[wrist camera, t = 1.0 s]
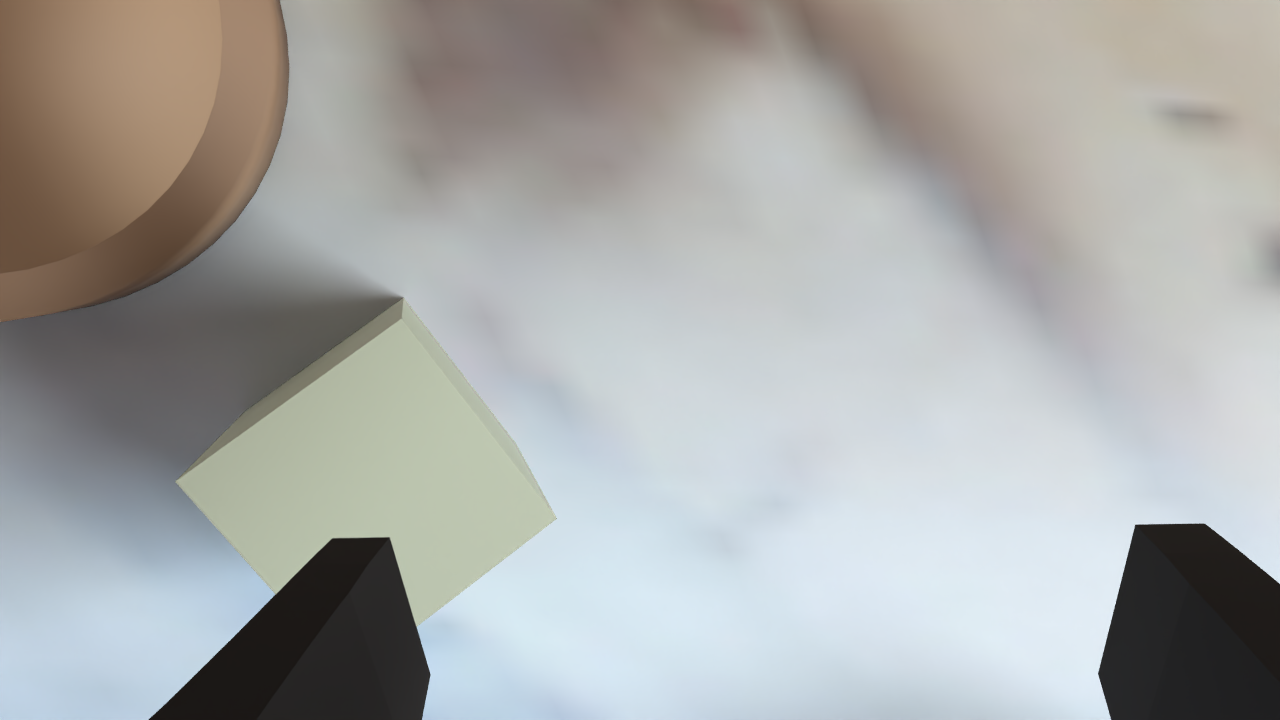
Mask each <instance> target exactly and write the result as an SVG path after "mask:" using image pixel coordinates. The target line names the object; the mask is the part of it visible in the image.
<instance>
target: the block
mask: <svg viewBox="0 0 1280 720" xmlns="http://www.w3.org/2000/svg"><path fill="white" fill-rule="evenodd" d="M175 482H176V483H177V484H178V485H179V486H180V488H181V489H182V490H183V491H184V492H185V493H186V494H187V495H188V497H189V498H190V499H191V500H192V501H193V502H194V503H195V504H196V506H197V507H198V508H199V509H200V510H201V511H202V512H203V513H204V515H205V516H206V517H207V518H208V519H209V520H210V521H211V522H212V524H213V525H214V526H215V527H216V528H217V529H218V530H219V531H220V533H221V534H222V535H223V536H224V537H225V538H226V539H227V540H228V542H229V543H230V544H231V545H232V546H233V547H234V548H235V549H236V551H237V552H238V553H239V554H240V555H241V556H242V557H243V558H244V560H245V561H246V562H247V563H248V564H249V565H250V566H251V567H252V568H253V570H254V571H255V572H256V573H257V574H258V575H259V576H260V577H261V579H262V580H263V581H264V582H265V583H266V584H267V585H268V586H269V588H270V589H271V590H272V591H273V592H274V593H275V594H277V593H278V592H279V591H280V590H281V589H282V588H283V587H284V586H285V585H286V584H287V583H288V582H289V580H290V579H291V578H292V577H293V576H294V575H295V574H296V573H297V572H298V571H299V570H300V569H301V568H302V567H303V566H304V565H305V564H306V563H307V562H308V561H309V560H310V559H311V558H312V557H313V556H314V555H315V554H316V553H317V552H318V551H320V550H321V549H322V548H323V547H324V546H325V545H326V544H327V543H328V542H329V541H330V540H331V539H332V538H371V537H390V540H391V543H392V546H393V550H394V553H395V556H396V560H397V563H398V567H399V570H400V573H401V577H402V580H403V584H404V587H405V590H406V594H407V597H408V600H409V604H410V607H411V611H412V614H413V617H414V621H415V624H416V627H417V626H418V625H420V624H421V623H422V622H423V621H425V620H426V619H427V618H429V617H430V616H431V615H433V614H434V613H435V612H436V611H438V610H439V609H440V608H442V607H443V606H444V605H445V604H447V603H448V602H449V601H451V600H452V599H453V598H455V597H456V596H457V595H458V594H460V593H461V592H462V591H464V590H465V589H466V588H467V587H469V586H470V585H471V584H473V583H474V582H475V581H477V580H478V579H479V578H480V577H482V576H483V575H484V574H486V573H487V572H488V571H490V570H491V569H492V568H493V567H495V566H496V565H497V564H499V563H500V562H501V561H502V560H504V559H505V558H506V557H508V556H509V555H510V554H512V553H513V552H514V551H515V550H517V549H518V548H519V547H521V546H522V545H523V544H525V543H526V542H527V541H528V540H530V539H531V538H532V537H534V536H535V535H536V534H537V533H539V532H540V531H541V530H543V529H544V528H545V527H547V526H548V525H549V524H550V523H552V522H553V521H554V520H556V519H557V518H556V516H555V514H554V512H553V511H552V509H551V507H550V505H549V503H548V501H547V500H546V498H545V496H544V494H543V492H542V490H541V489H540V487H539V485H538V483H537V481H536V479H535V478H534V476H533V474H532V472H531V470H530V468H529V467H528V465H527V463H526V461H525V459H524V457H523V456H522V454H521V452H520V450H519V448H518V446H517V445H516V443H515V442H514V440H513V439H512V438H511V436H510V435H509V434H508V433H507V431H506V430H505V429H504V427H503V426H502V425H501V423H500V422H499V421H498V420H497V418H496V417H495V416H494V414H493V413H492V412H491V410H490V409H489V408H488V407H487V405H486V404H485V403H484V401H483V400H482V399H481V397H480V396H479V395H478V394H477V392H476V391H475V390H474V388H473V387H472V386H471V384H470V383H469V382H468V381H467V379H466V378H465V377H464V375H463V374H462V373H461V371H460V370H459V369H458V368H457V366H456V365H455V364H454V362H453V361H452V360H451V358H450V357H449V356H448V355H447V353H446V352H445V351H444V349H443V348H442V347H441V345H440V344H439V343H438V342H437V340H436V339H435V338H434V336H433V335H432V334H431V332H430V331H429V330H428V329H427V327H426V326H425V325H424V323H423V322H422V321H421V319H420V318H419V317H418V316H417V314H416V313H415V312H414V310H413V309H412V308H411V306H410V305H409V304H408V303H407V301H406V300H405V299H404V298H402V299H401V300H399V301H398V302H397V303H395V304H394V305H393V306H391V307H390V308H388V309H387V310H386V311H384V312H383V313H381V314H380V315H379V316H377V317H376V318H374V319H373V320H372V321H370V322H369V323H367V324H366V325H365V326H363V327H362V328H360V329H359V330H358V331H356V332H355V333H354V334H352V335H351V336H349V337H348V338H347V339H345V340H344V341H342V342H341V343H340V344H338V345H337V346H335V347H334V348H333V349H331V350H330V351H328V352H327V353H326V354H324V355H323V356H321V357H320V358H319V359H317V360H316V361H314V362H313V363H312V364H310V365H309V366H308V367H306V368H305V369H303V370H302V371H301V372H299V373H298V374H296V375H295V376H294V377H292V378H291V379H289V380H288V381H287V382H285V383H284V384H282V385H281V386H280V387H278V388H277V389H275V390H274V391H273V392H271V393H270V394H269V395H267V396H266V397H264V398H263V399H262V400H260V401H259V402H257V403H256V404H255V405H253V406H252V407H250V408H249V409H248V410H246V411H245V412H244V413H243V414H242V415H241V416H240V417H239V418H238V419H237V420H236V421H235V422H234V423H233V424H232V425H231V426H230V427H229V428H228V429H227V430H226V431H225V432H224V433H223V434H222V435H221V436H220V437H219V438H218V439H217V440H216V441H215V442H214V443H213V444H212V445H211V446H210V447H209V448H208V449H207V450H206V451H205V452H204V453H203V454H202V455H201V456H200V457H199V458H198V459H197V460H196V461H195V462H194V463H193V464H192V465H191V466H190V467H189V468H188V469H187V470H186V471H185V472H184V473H183V474H182V475H181V476H180V477H179V478H178V479H177V480H176V481H175Z"/></svg>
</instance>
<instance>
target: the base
mask: <svg viewBox="0 0 1280 720" xmlns="http://www.w3.org/2000/svg"><path fill="white" fill-rule="evenodd" d="M288 83H289V58H288V44H287V34H286V29H285V24H284V19H283V14H282V9H281V5H280V0H0V322H4V321H10V320H16V319H23V318H29V317H35V316H41V315H47V314H52V313H58V312H63V311H68V310H74V309H79V308H85V307H90V306H94V305H97V304H101V303H104V302H108V301H111V300H114V299H118V298H121V297H125V296H127V295H130V294H132V293H134V292H137V291H139V290H141V289H144V288H146V287H148V286H151V285H153V284H155V283H158V282H159V281H161V280H163V279H164V278H166V277H168V276H169V275H171V274H173V273H174V272H176V271H178V270H179V269H181V268H183V267H184V266H186V265H188V264H189V263H190V262H191V261H193V260H194V259H195V258H196V257H198V256H199V255H200V254H201V253H203V252H204V251H205V250H206V249H208V248H209V247H210V246H211V245H213V244H214V243H215V242H216V241H217V240H218V239H219V238H220V236H221V235H222V234H223V233H224V232H225V231H226V230H227V229H228V228H229V227H230V226H231V225H232V224H233V223H234V222H235V221H236V219H237V218H238V217H239V215H240V214H241V213H242V211H243V210H244V208H245V207H246V206H247V204H248V203H249V201H250V200H251V199H252V197H253V196H254V194H255V193H256V191H257V189H258V187H259V185H260V183H261V181H262V179H263V177H264V175H265V174H266V172H267V170H268V168H269V166H270V163H271V161H272V158H273V155H274V152H275V149H276V147H277V144H278V141H279V138H280V135H281V131H282V126H283V121H284V116H285V111H286V106H287V99H288Z"/></svg>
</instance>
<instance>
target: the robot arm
mask: <svg viewBox="0 0 1280 720" xmlns="http://www.w3.org/2000/svg"><path fill="white" fill-rule="evenodd" d="M1098 675H1099V678H1100V682H1101V685H1102V689H1103V692H1104V696H1105V699H1106V703H1107V706H1108V710H1109V713H1110V717H1111V720H1280V584H1279V583H1278V582H1277V581H1275V580H1274V579H1273V578H1272V577H1271V576H1269V575H1268V574H1267V573H1266V572H1265V571H1263V570H1262V569H1261V568H1260V567H1258V566H1257V565H1256V564H1255V563H1254V562H1252V561H1251V560H1250V559H1249V558H1247V557H1246V556H1245V555H1244V554H1243V553H1241V552H1240V551H1239V550H1238V549H1236V548H1235V547H1234V546H1233V545H1231V544H1230V543H1229V542H1228V541H1226V540H1225V539H1224V538H1223V537H1221V536H1220V535H1219V534H1217V533H1216V532H1215V531H1214V530H1212V529H1211V528H1210V527H1208V526H1207V525H1206V524H1149V525H1135V529H1134V533H1133V537H1132V541H1131V545H1130V549H1129V553H1128V557H1127V561H1126V565H1125V569H1124V573H1123V577H1122V581H1121V585H1120V589H1119V593H1118V597H1117V601H1116V605H1115V608H1114V612H1113V616H1112V620H1111V624H1110V628H1109V632H1108V636H1107V640H1106V644H1105V648H1104V652H1103V656H1102V660H1101V664H1100V668H1099V672H1098ZM429 679H430V671H429V668H428V665H427V661H426V658H425V655H424V651H423V648H422V644H421V641H420V638H419V634H418V631H417V627H416V624H415V621H414V617H413V614H412V611H411V607H410V604H409V600H408V597H407V594H406V590H405V587H404V584H403V580H402V577H401V573H400V570H399V567H398V563H397V560H396V556H395V553H394V550H393V546H392V543H391V540H390V537H371V538H332V539H331V540H330V541H329V542H328V543H327V544H326V545H325V546H324V547H323V548H322V549H321V550H320V551H318V552H317V553H316V554H315V555H314V556H313V557H312V558H311V559H310V560H309V561H308V562H307V563H306V564H305V565H304V566H303V567H302V568H301V569H300V570H299V571H298V572H297V573H296V574H295V575H294V576H293V577H292V578H291V579H290V580H289V582H288V583H287V584H286V585H285V586H284V587H283V588H282V589H281V590H280V591H279V592H278V593H277V594H276V595H275V596H274V597H273V598H272V599H271V600H270V601H269V602H268V603H267V604H266V605H265V606H264V607H263V608H262V609H261V610H260V611H259V612H258V613H257V614H256V615H255V616H254V617H253V618H252V619H251V620H250V621H249V622H248V623H247V624H246V625H245V626H244V627H243V628H242V629H241V630H240V631H239V632H238V633H237V634H236V635H235V636H234V637H233V638H232V639H231V640H230V641H229V642H228V643H227V644H226V645H225V646H224V647H223V648H222V649H221V650H220V651H219V652H218V653H217V654H216V655H215V656H214V657H213V658H212V659H211V660H210V661H209V662H208V663H207V664H206V665H205V666H204V667H203V668H202V669H201V670H200V671H199V672H198V673H197V674H196V675H195V676H194V677H193V678H192V679H191V680H190V681H189V682H188V683H187V684H186V685H185V686H184V687H182V688H181V689H180V690H179V691H178V692H177V693H176V694H175V695H174V696H173V697H172V698H171V699H170V700H169V701H168V702H167V703H166V704H165V705H164V706H163V707H162V708H161V709H160V710H159V711H158V712H156V713H155V714H154V715H153V716H152V717H151V718H150V719H149V720H422V716H423V710H424V705H425V700H426V695H427V690H428V684H429Z"/></svg>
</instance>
